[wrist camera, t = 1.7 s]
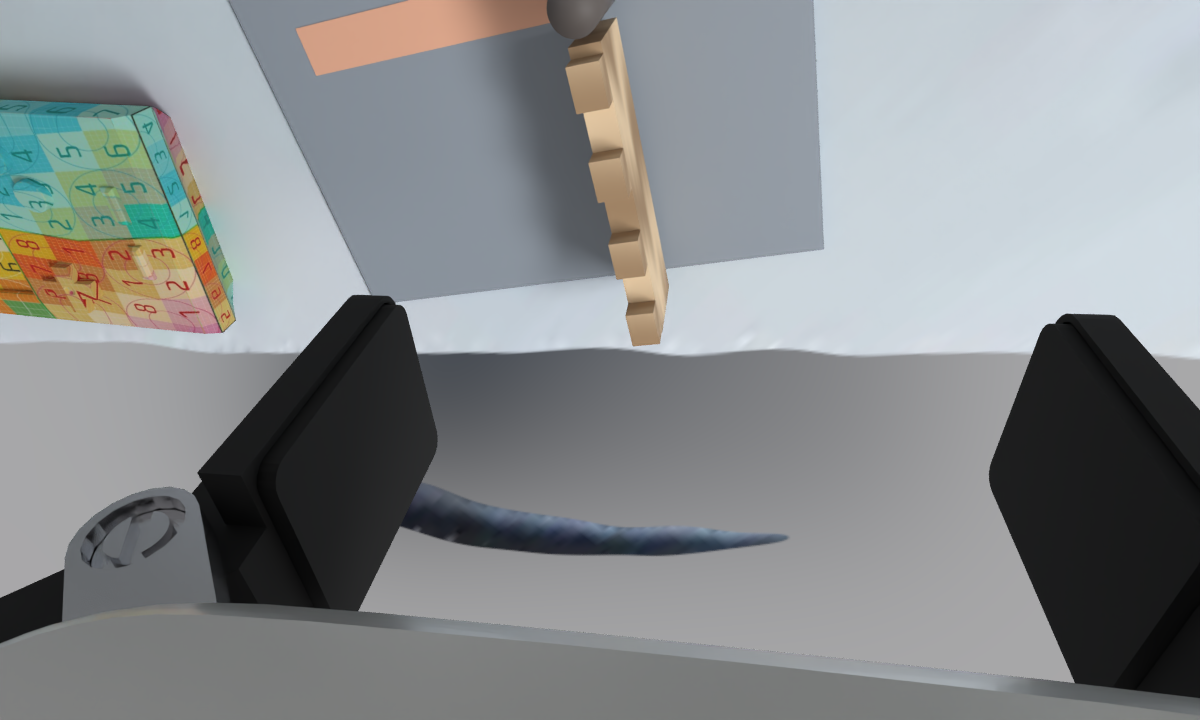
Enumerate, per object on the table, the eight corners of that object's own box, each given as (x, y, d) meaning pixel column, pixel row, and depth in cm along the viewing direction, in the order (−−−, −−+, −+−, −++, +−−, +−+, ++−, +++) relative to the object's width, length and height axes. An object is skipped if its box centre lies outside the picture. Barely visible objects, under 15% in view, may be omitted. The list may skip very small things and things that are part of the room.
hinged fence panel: (570, -37, 26) (536, -11, 22) (615, -48, 26) (590, -24, 21) (640, 282, 35) (626, 348, 30) (675, 278, 34) (667, 345, 30)
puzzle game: (212, 342, 36) (-109, 312, 39) (260, 296, 40) (-36, 271, 43) (116, 121, 29) (-268, 102, 32) (185, 90, 33) (-164, 75, 36)
